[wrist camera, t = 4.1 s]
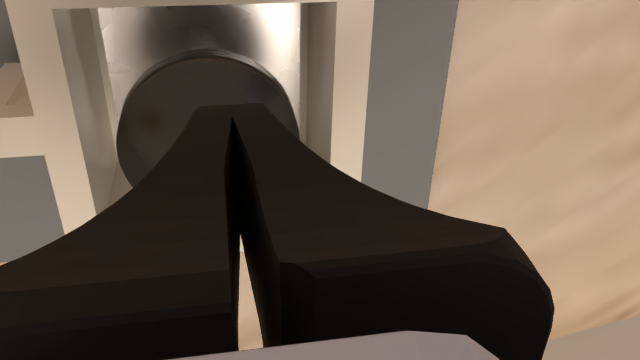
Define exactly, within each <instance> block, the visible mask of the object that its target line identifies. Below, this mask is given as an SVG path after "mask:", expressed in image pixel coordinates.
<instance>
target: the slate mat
mask: <svg viewBox="0 0 640 360" xmlns="http://www.w3.org/2000/svg"><path fill="white" fill-rule="evenodd" d="M458 1H459V0H374V14H373V27H372V40H371V54H370V67H369V81H368V94H367V108H366V121H365V134H364V148H363V161H362V175H361V183H363V184H365V185H367V186H369V187H371V188H373V189H375V190H378V191H380V192H382V193H385V194H387V195H389V196H391V197H394V198H396V199H398V200H401V201H404V202H407V203H409V204H412V205H415V206H417V207H421V208H424V209H427V208H428V201H429V195H430V188H431V181H432V175H433V168H434V161H435V155H436V148H437V141H438V135H439V128H440V121H441V115H442V108H443V101H444V95H445V88H446V81H447V75H448V68H449V61H450V55H451V48H452V41H453V35H454V28H455V21H456V15H457V8H458ZM4 63H21V62H20V59H19V55H18V51H17V47H16V43H15V39H14V35H13V31H12V27H11V24H10V20H9V16H8V12H7V8H6V4H5V0H0V69H1V67H2V66H3V64H4ZM64 235H65V233H64V230H63V226H62V222H61V218H60V214H59V210H58V206H57V202H56V198H55V195H54V191H53V187H52V183H51V179H50V175H49V171H48V167H47V163H46V160H45V156H44V155H41V156H25V157H9V158H0V262H10V261H13V260H15V259H18V258H20V257H22V256H24V255H27V254H29V253H31V252H33V251H35V250H37V249H39V248H41V247H43V246H45V245H47V244H49V243H51V242H53V241H55V240H57V239H59V238H60V237H62V236H64Z"/></svg>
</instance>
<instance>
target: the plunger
mask: <svg viewBox="0 0 640 360" xmlns="http://www.w3.org/2000/svg"><path fill="white" fill-rule="evenodd" d="M98 13H99V19H100V24H101V30H102V36H103V41H104V47H105V53H106V59H107V64H108V70H109V76H110V81H111V87H112V93H113V99H114V104H115V110H116V116H117V121H118V129H117V135H116V148H117V156H118V160H119V163H120V166H121V169H122V171H123V173H124V175H125V177H126V179H127V180H128V182H129V183H130V185H131V186H132V187H135V186H136V185H137V184H138V183H139V182H140V181H141V180H142V179H143V178H144V177H145V176H146V175H147V174H148V173H149V171H150V170H151V169H152V168H153V167H154V166H155V165H156V164H157V162H158V161H159V160H160V159H161V158H162V157H163V156H164V154H165V153H166V152H167V150H168V149H169V148H170V146H171V145H172V144H173V142H174V141H175V140H176V138H177V137H178V136H179V134H180V133H181V131H182V130H183V128H184V127H185V125H186V123H187V122H188V120H189V118H190V117H191V115H192V113H193V111H194V110H195V109H196V108H197V107H198V106H214V105H231V104H248V103H263V104H264V105H265V106H266V107H268V108H269V110H270V111H271V112H272V113H273V114H274V115H275V116H276V117H277V118H278V119H279V120H280V121H281V123H282V124H283V125H284V126H285V127H286V128H287V129H288V130H289V131H290V132H291V133H293V134H294V135H295V136H296V137H297V138H298V139H299V140H300V135H299V105H300V3H269V4H229V5H188V6H148V7H108V8H98Z"/></svg>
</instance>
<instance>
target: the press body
mask: <svg viewBox="0 0 640 360" xmlns="http://www.w3.org/2000/svg"><path fill="white" fill-rule="evenodd" d="M269 3H300V105H299V135H300V141H301V142H302V143H304V144H305V145H306V146H307V147H308V148H309V149H311V150H312V151H313V152H315V153H316V154H317V155H319V156H320V157H321V158H323V159H324V160H325V161H327V162H328V163H329V164H331V165H333V166H334V167H336V168H337V169H339V170H340V171H342V172H344V173H346V174H347V175H349V176H351V177H352V178H354V179H356V180H358V181H359V182H361V175H362V161H363V148H364V134H365V121H366V108H367V94H368V81H369V67H370V54H371V40H372V27H373V14H374V0H5V4H6V8H7V12H8V16H9V20H10V24H11V27H12V31H13V35H14V39H15V43H16V47H17V51H18V55H19V59H20V62H21V63H4V64H3V66H2V67H1V69H0V158H9V157H25V156H41V155H44V156H45V160H46V163H47V167H48V171H49V175H50V179H51V183H52V187H53V191H54V195H55V198H56V202H57V206H58V210H59V214H60V218H61V222H62V226H63V230H64V233H65V235H66V234H67V233H69V232H71V231H73V230H75V229H76V228H78V227H80V226H81V225H83V224H84V223H86V222H87V221H89V220H90V219H92V218H93V217H95V216H96V215H98V214H99V213H101V212H102V211H103V210H105V209H106V208H108V207H109V206H111V205H112V204H114V203H115V202H116V201H118V200H119V199H120V198H122V197H123V196H124V195H125V194H126V193H127V192H129V191H130V190H131V189H132V188H133V187H132V186H131V185H130V183H129V182H128V180H127V179H126V177H125V175H124V173H123V171H122V169H121V166H120V163H119V160H118V156H117V148H116V135H117V129H118V121H117V116H116V110H115V104H114V99H113V93H112V87H111V81H110V76H109V70H108V64H107V59H106V53H105V47H104V41H103V36H102V30H101V24H100V19H99V13H98V8H108V7H148V6H188V5H229V4H269ZM240 252H244V249H243V244H242V239H241V235H240Z"/></svg>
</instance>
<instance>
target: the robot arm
mask: <svg viewBox="0 0 640 360" xmlns="http://www.w3.org/2000/svg"><path fill="white" fill-rule="evenodd" d="M240 235H241V239H242V244H243V249H244V253H245V258H246V262H247V267H248V272H249V276H250V281H251V285H252V290H253V294H254V299H255V304H256V308H257V313H258V317H259V322H260V328H261V334H262V340H263V348H258V349H250V350H242V351H239V349H238V301H239V268H240ZM553 315H554V304H553V300H552V295H551V291H550V289H549V287H548V286H547V284H546V283H545V281H544V280H543V279H542V277H541V276H540V274H539V273H538V272H537V270H536V268H535V267H534V265H533V264H532V262H531V261H530V259H529V258H528V256H527V255H526V254H525V252H524V251H523V250H522V248H521V247H520V246H519V245H518V244H517V242H516V241H515V240H514V239H513V237H512V236H511V235H510V234H509V233H508V232H507V230H506V229H505V228H501V227H496V226H492V225H487V224H482V223H478V222H473V221H468V220H464V219H459V218H455V217H450V216H447V215H443V214H440V213H437V212H434V211H430V210H427V209H424V208H421V207H417V206H415V205H412V204H409V203H407V202H404V201H401V200H398V199H396V198H394V197H391V196H389V195H387V194H385V193H382V192H380V191H378V190H375V189H373V188H371V187H369V186H367V185H365V184H363V183H361V182H359V181H358V180H356V179H354V178H352V177H351V176H349V175H347V174H346V173H344V172H342V171H340V170H339V169H337V168H336V167H334V166H333V165H331V164H329V163H328V162H327V161H325V160H324V159H323V158H321V157H320V156H319V155H317V154H316V153H315V152H313V151H312V150H311V149H309V148H308V147H307V146H306V145H305V144H304V143H302V142H301V141H300V140H299V139H298V138H297V137H296V136H295V135H294V134H293V133H291V132H290V131H289V130H288V129H287V128H286V127H285V126H284V125H283V124H282V123H281V121H280V120H279V119H278V118H277V117H276V116H275V115H274V114H273V113H272V112H271V111H270V110H269V108H268V107H266V106H265V105H264V104H263V103H248V104H231V105H214V106H198V107H197V108H196V109H195V110H194V111H193V113H192V115H191V117H190V118H189V120H188V122H187V123H186V125H185V127H184V128H183V130H182V131H181V133H180V134H179V136H178V137H177V138H176V140H175V141H174V142H173V144H172V145H171V146H170V148H169V149H168V150H167V152H166V153H165V154H164V156H163V157H162V158H161V159H160V160H159V161H158V162H157V164H156V165H155V166H154V167H153V168H152V169H151V170H150V171H149V173H148V174H147V175H146V176H145V177H144V178H143V179H142V180H141V181H140V182H139V183H138V184H137V185H136V186H135V187H133V188H132V189H131V190H130V191H129V192H127V193H126V194H125V195H124V196H123V197H122V198H120V199H119V200H118V201H116V202H115V203H114V204H112V205H111V206H109V207H108V208H106V209H105V210H103V211H102V212H101V213H99V214H98V215H96V216H95V217H93V218H92V219H90V220H89V221H87V222H86V223H84V224H83V225H81V226H80V227H78V228H76V229H75V230H73V231H71V232H69V233H67V234H66V235H64V236H62V237H60V238H59V239H57V240H55V241H53V242H51V243H49V244H47V245H45V246H43V247H41V248H39V249H37V250H35V251H33V252H31V253H29V254H27V255H24V256H22V257H20V258H18V259H15V260H13V261H10V262H8V263H6V264H3V265H1V266H0V360H542V356H543V353H544V350H545V347H546V344H547V341H548V338H549V335H550V332H551V328H552V322H553Z"/></svg>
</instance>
